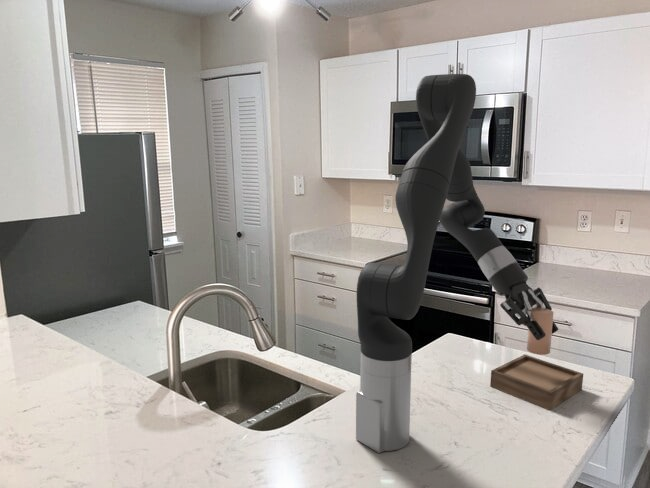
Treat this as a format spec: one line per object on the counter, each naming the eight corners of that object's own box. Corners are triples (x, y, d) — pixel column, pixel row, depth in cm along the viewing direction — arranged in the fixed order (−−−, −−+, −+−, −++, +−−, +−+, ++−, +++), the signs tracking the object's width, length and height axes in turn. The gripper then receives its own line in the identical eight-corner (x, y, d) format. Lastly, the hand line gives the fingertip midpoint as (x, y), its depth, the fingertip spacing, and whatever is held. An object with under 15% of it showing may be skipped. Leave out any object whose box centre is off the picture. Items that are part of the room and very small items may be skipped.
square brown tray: (550, 410, 109) (551, 393, 108) (490, 386, 120) (491, 370, 119) (581, 389, 118) (583, 373, 117) (523, 369, 129) (524, 354, 128)
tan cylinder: (543, 356, 114) (546, 316, 112) (522, 349, 118) (525, 310, 116) (554, 350, 117) (557, 311, 115) (533, 344, 121) (536, 306, 119)
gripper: (495, 266, 115) (544, 335, 108) (530, 256, 124) (577, 319, 117) (472, 285, 120) (518, 351, 113) (508, 274, 129) (552, 335, 122)
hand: (548, 334), depth 115 cm, fingers closed on tan cylinder, 4 cm apart
